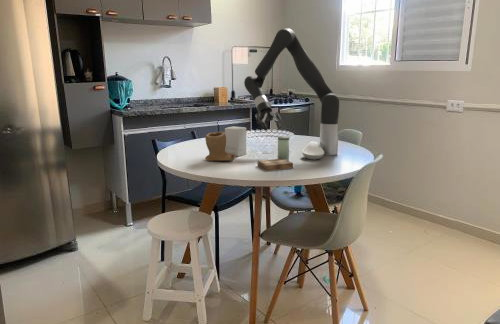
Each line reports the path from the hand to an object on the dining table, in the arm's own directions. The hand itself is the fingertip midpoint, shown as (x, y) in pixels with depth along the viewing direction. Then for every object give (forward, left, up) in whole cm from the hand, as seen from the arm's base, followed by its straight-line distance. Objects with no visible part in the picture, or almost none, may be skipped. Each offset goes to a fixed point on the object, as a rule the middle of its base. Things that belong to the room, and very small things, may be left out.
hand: (273, 128), depth 202 cm
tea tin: (-1, +11, -15) cm, 18 cm away
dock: (+9, +22, -15) cm, 28 cm away
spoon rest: (-21, +7, -15) cm, 27 cm away
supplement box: (+17, -11, -15) cm, 26 cm away
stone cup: (+30, 0, -15) cm, 34 cm away
